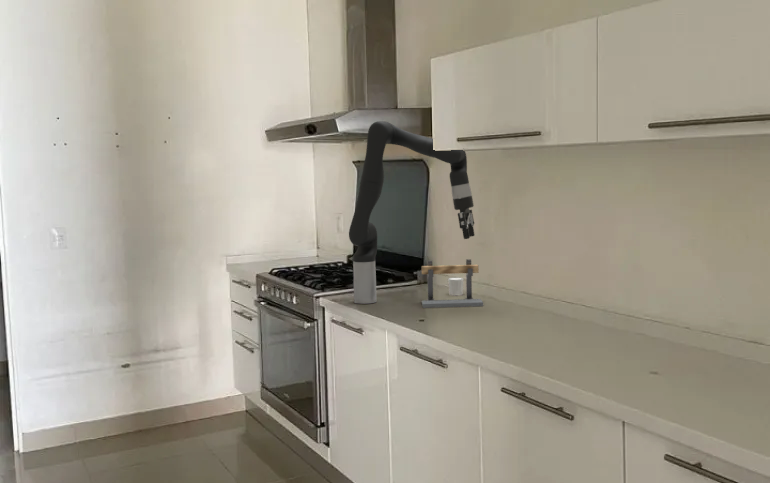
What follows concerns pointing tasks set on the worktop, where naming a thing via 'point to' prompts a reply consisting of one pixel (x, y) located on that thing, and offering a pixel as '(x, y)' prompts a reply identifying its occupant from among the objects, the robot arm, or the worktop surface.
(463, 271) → the oak rail
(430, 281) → the charcoal rack
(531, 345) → the worktop surface
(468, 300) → the slate mat
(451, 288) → the beige white-topped cylinder
